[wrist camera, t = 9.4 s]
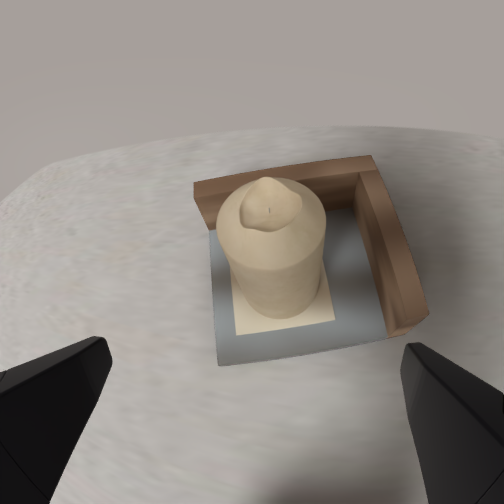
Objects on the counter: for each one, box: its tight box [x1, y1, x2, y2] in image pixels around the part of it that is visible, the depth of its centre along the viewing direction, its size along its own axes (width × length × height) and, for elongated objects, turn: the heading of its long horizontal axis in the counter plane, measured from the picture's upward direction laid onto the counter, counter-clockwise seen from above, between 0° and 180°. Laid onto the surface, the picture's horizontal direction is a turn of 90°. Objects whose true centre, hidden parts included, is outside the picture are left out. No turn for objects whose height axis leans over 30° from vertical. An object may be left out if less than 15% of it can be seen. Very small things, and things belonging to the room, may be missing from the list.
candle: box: [216, 177, 326, 319], centre depth 19 cm, size 6×6×10 cm
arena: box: [194, 155, 429, 366], centre depth 22 cm, size 12×14×5 cm
